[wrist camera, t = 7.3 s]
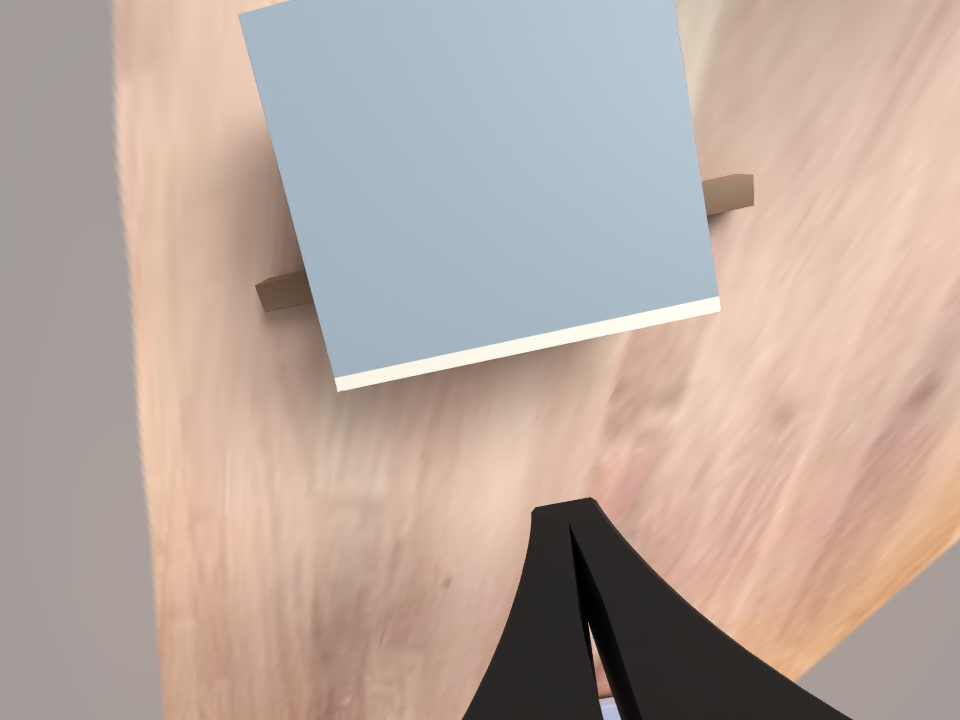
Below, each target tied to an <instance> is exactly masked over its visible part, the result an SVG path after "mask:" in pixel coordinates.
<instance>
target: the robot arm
mask: <svg viewBox="0 0 960 720" xmlns="http://www.w3.org/2000/svg"><path fill="white" fill-rule="evenodd" d="M588 623H589V625H588ZM589 626H590V629H591V632H592V635H593V638H594V641H595V644H596V647H597V650H598V653H599V656H600V659H601V662H602V665H603V668H604V671H605V674H606V677H607V680H608V683H609V686H610V689H611V692H612V694H613V697H609V698H603V699H599V696H598V689H597V682H596V675H595V668H594V661H593V654H592V647H591V639H590V632H589ZM462 720H852V719H851V718H849V717H847V716H846V715H844V714H842V713H841V712H839V711H838V710H836V709H834V708H833V707H831V706H829V705H828V704H826V703H825V702H823V701H821V700H820V699H818V698H817V697H815V696H814V695H812V694H810V693H809V692H807V691H806V690H804V689H802V688H801V687H799V686H798V685H797V684H795V683H794V682H792V681H791V680H789V679H788V678H787V677H785V676H784V675H782V674H781V673H779V672H778V671H776V670H775V669H774V668H772V667H771V666H769V665H768V664H766V663H765V662H763V661H762V660H760V659H759V658H758V657H756V656H755V655H753V654H752V653H750V652H749V651H748V650H746V649H745V648H743V647H742V646H741V645H740V644H738V643H737V642H736V641H734V640H733V639H732V638H731V637H729V636H728V635H727V634H725V633H724V632H723V631H721V630H720V629H719V628H718V627H716V626H715V625H714V624H713V623H712V622H710V621H709V620H708V619H707V618H705V617H704V616H703V615H702V614H701V613H699V612H698V611H697V610H696V609H695V608H694V607H692V606H691V605H690V604H689V603H688V602H687V601H686V600H685V599H683V598H682V597H681V596H680V595H679V594H678V593H677V592H676V591H675V590H674V589H673V588H672V587H671V586H670V585H668V584H667V583H666V582H665V581H664V580H663V579H662V578H661V577H660V576H659V575H658V574H657V573H656V572H655V571H654V570H653V569H652V568H651V567H650V566H649V565H648V564H647V563H646V562H645V560H644V559H643V558H642V557H641V556H640V555H639V554H638V553H637V552H636V551H635V550H634V549H633V548H632V546H631V545H630V544H629V543H628V542H627V541H626V540H625V538H624V537H623V536H622V535H621V534H620V532H619V531H618V530H617V529H616V528H615V526H614V525H613V524H612V523H611V521H610V520H609V519H608V517H607V516H606V515H605V513H604V512H603V510H602V509H601V507H600V506H599V504H598V503H597V501H596V500H594V499H593V498H591V497H589V498H583V499H578V500H573V501H567V502H562V503H556V504H551V505H546V506H540V507H535V509H534V510H533V511H532V512H531V531H530V538H529V544H528V549H527V554H526V559H525V563H524V567H523V571H522V575H521V579H520V583H519V586H518V589H517V593H516V596H515V599H514V602H513V605H512V608H511V611H510V614H509V617H508V620H507V623H506V626H505V628H504V631H503V634H502V636H501V639H500V641H499V644H498V646H497V648H496V651H495V653H494V655H493V658H492V660H491V662H490V665H489V667H488V669H487V671H486V673H485V675H484V677H483V679H482V681H481V683H480V686H479V688H478V690H477V692H476V694H475V696H474V698H473V700H472V702H471V704H470V705H469V707H468V709H467V711H466V713H465V715H464V717H463V718H462Z"/></svg>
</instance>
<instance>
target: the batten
mask: <svg viewBox="0 0 960 720" xmlns="http://www.w3.org/2000/svg"><path fill="white" fill-rule="evenodd" d="M702 189H703V195H704V202H705V208H706V215H707V216H708V215H712V214H717V213H721V212H726V211H730V210H735V209H740V208H744V207H749V206H753V205H754V186H753V175H747V174H734V175H730V176H725V177H721V178H716V179H712V180H707V181H703V182H702ZM255 287H256V290H257V292H258V295H259V298H260V300H261V303H262V306H263V308H264V311H265V312H269V311H274V310H278V309H283V308H287V307H292V306H296V305H301V304H306V303H310V302H314V300H313V296H312V292H311V289H310V285H309V281H308V277H307V273H306V270H305V271H301V272H296V273H292V274H287V275H283V276H278V277H274V278H269V279H267V280H265V281H263V282H261V283H259V284H258V285H256V286H255Z"/></svg>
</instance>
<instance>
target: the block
mask: <svg viewBox="0 0 960 720" xmlns="http://www.w3.org/2000/svg"><path fill="white" fill-rule="evenodd" d="M238 16H239V20H240V24H241V27H242V31H243V35H244V39H245V43H246V46H247V50H248V54H249V58H250V62H251V65H252V69H253V73H254V77H255V80H256V84H257V88H258V92H259V96H260V99H261V103H262V107H263V111H264V114H265V118H266V122H267V126H268V130H269V133H270V137H271V141H272V145H273V149H274V152H275V156H276V160H277V164H278V167H279V171H280V175H281V179H282V183H283V186H284V190H285V194H286V198H287V202H288V205H289V209H290V213H291V217H292V220H293V224H294V228H295V232H296V236H297V239H298V243H299V247H300V251H301V254H302V258H303V262H304V266H305V270H306V273H307V277H308V281H309V285H310V289H311V292H312V296H313V300H314V304H315V307H316V311H317V315H318V319H319V323H320V326H321V330H322V334H323V338H324V342H325V345H326V349H327V353H328V357H329V360H330V364H331V368H332V372H333V376H334V379H335V383H336V387H337V391H338V392H340V391H344V390H349V389H354V388H359V387H363V386H368V385H373V384H378V383H382V382H387V381H392V380H397V379H401V378H406V377H411V376H416V375H420V374H425V373H430V372H434V371H439V370H444V369H449V368H453V367H458V366H463V365H468V364H472V363H477V362H482V361H487V360H491V359H496V358H501V357H506V356H510V355H515V354H520V353H524V352H529V351H534V350H539V349H543V348H548V347H553V346H558V345H562V344H567V343H572V342H577V341H581V340H586V339H591V338H596V337H600V336H605V335H610V334H614V333H619V332H624V331H629V330H633V329H638V328H643V327H648V326H652V325H657V324H662V323H667V322H671V321H676V320H681V319H686V318H690V317H695V316H700V315H704V314H709V313H714V312H719V311H721V307H720V300H719V294H718V287H717V281H716V274H715V267H714V261H713V254H712V248H711V241H710V235H709V228H708V221H707V215H706V208H705V202H704V195H703V189H702V182H701V175H700V169H699V162H698V156H697V149H696V143H695V136H694V129H693V123H692V116H691V110H690V103H689V97H688V90H687V83H686V77H685V70H684V64H683V57H682V51H681V44H680V37H679V31H678V24H677V18H676V11H675V5H674V0H290V1H287V2H283V3H279V4H276V5H272V6H268V7H265V8H261V9H257V10H253V11H250V12H246V13H242V14H239V15H238Z"/></svg>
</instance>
